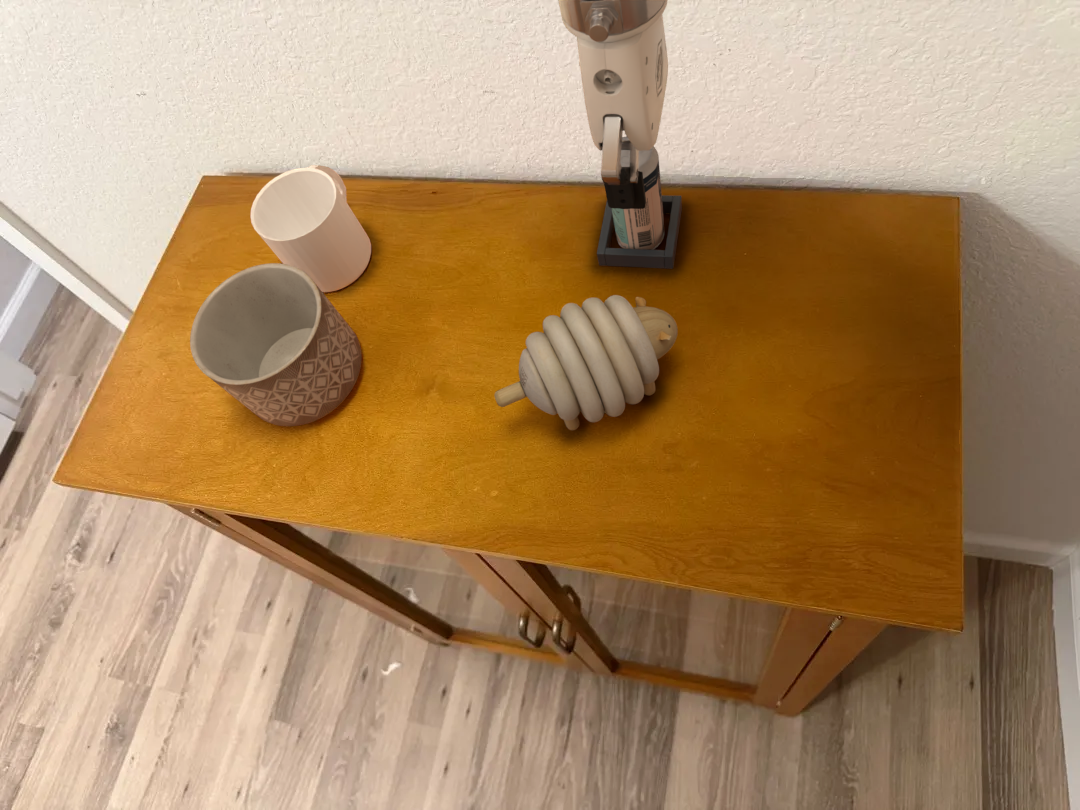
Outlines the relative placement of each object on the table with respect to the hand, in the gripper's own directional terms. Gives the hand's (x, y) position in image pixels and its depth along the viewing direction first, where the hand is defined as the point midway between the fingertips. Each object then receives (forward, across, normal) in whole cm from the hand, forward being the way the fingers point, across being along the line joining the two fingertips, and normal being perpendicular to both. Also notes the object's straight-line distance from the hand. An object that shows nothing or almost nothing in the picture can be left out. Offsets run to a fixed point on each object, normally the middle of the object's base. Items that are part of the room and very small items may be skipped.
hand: (635, 161), depth 68 cm
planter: (+11, -18, +32) cm, 38 cm away
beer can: (+11, 0, 0) cm, 11 cm away
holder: (+11, 0, +1) cm, 11 cm away
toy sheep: (+11, -17, +2) cm, 21 cm away
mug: (+11, -3, +33) cm, 35 cm away
